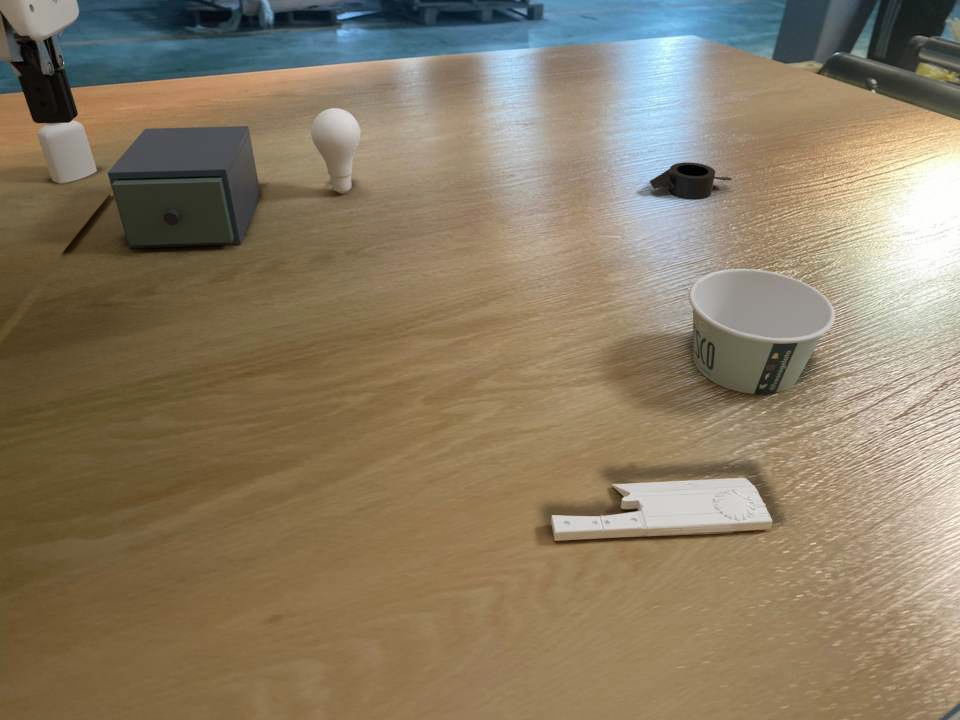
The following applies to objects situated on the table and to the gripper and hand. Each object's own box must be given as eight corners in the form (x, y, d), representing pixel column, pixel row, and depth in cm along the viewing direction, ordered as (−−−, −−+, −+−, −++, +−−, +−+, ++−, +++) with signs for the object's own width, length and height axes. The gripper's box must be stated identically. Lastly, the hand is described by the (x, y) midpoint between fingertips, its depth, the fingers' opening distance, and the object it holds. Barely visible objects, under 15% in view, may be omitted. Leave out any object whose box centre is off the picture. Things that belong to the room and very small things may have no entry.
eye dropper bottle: (53, 181, 104) (23, 91, 97) (98, 174, 106) (71, 86, 99) (55, 193, 100) (24, 101, 93) (101, 185, 103) (74, 94, 96)
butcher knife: (544, 488, 56) (545, 477, 55) (744, 480, 57) (748, 469, 56) (554, 541, 52) (555, 529, 51) (770, 531, 52) (774, 520, 52)
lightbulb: (373, 195, 100) (366, 111, 94) (331, 206, 97) (321, 120, 91) (352, 180, 104) (344, 99, 98) (311, 190, 101) (300, 107, 95)
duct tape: (657, 175, 106) (660, 155, 104) (731, 186, 103) (735, 165, 101) (645, 196, 100) (648, 175, 98) (723, 208, 97) (727, 186, 95)
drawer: (230, 247, 86) (217, 185, 81) (126, 250, 85) (107, 188, 81) (251, 195, 98) (241, 139, 93) (160, 198, 97) (146, 141, 93)
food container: (845, 390, 66) (867, 326, 62) (722, 415, 63) (737, 350, 59) (764, 319, 75) (780, 260, 71) (654, 338, 72) (664, 277, 68)
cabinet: (240, 244, 88) (225, 169, 83) (129, 248, 87) (106, 172, 82) (260, 194, 100) (248, 125, 95) (162, 197, 99) (144, 128, 94)
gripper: (-18, -129, 49) (70, 149, 60) (66, -139, 61) (127, 94, 72) (-141, -129, 48) (-30, 152, 59) (-31, -139, 61) (45, 95, 71)
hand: (56, 119), depth 65 cm, fingers closed
